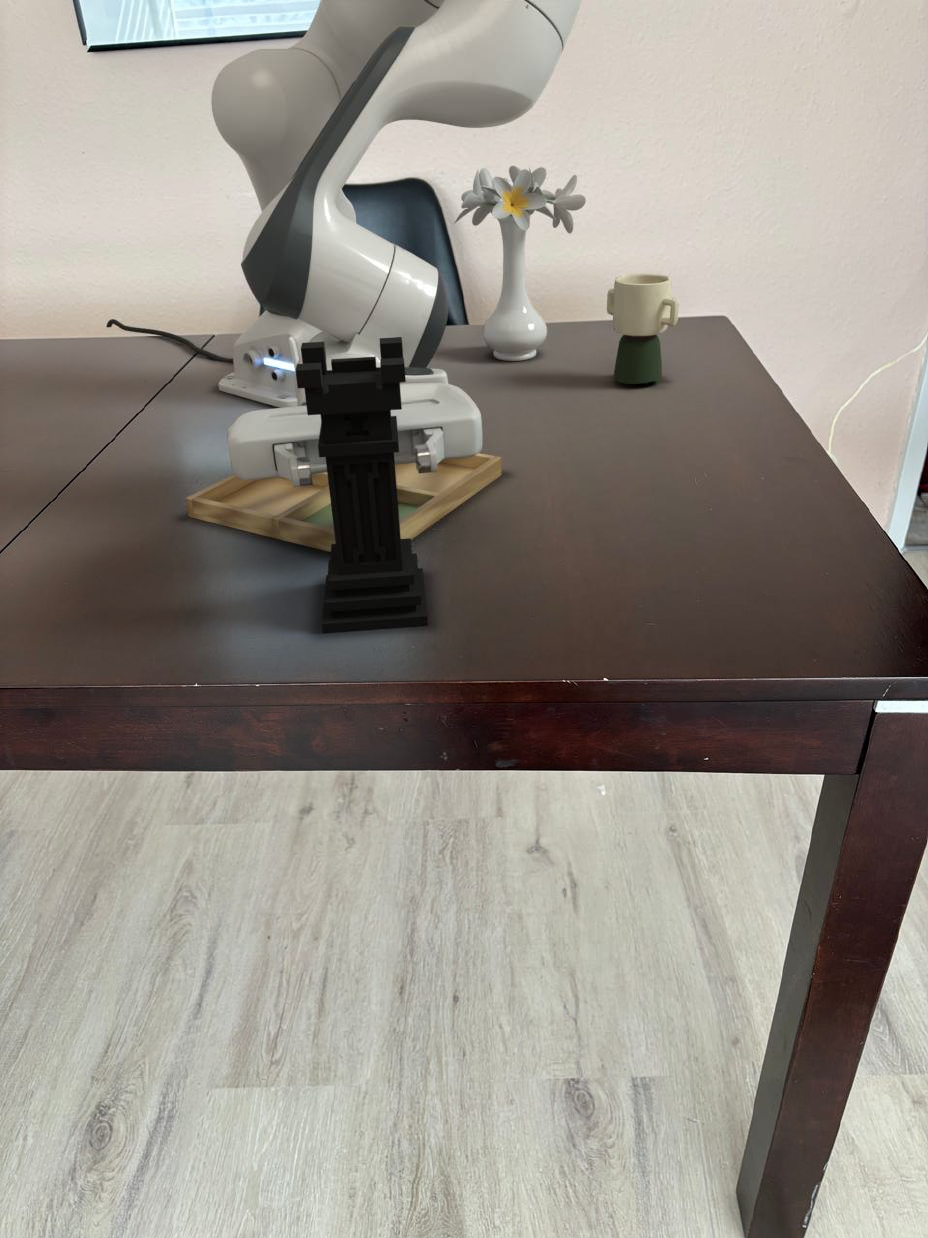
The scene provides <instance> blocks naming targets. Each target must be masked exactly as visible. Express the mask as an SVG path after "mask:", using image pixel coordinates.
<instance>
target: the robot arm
mask: <svg viewBox="0 0 928 1238" xmlns="http://www.w3.org/2000/svg"><path fill="white" fill-rule="evenodd" d="M582 1H583V0H319V4H318V7H317V9H316V12H315V14H314V16H313V19H312V21H311V22H310V25H309V27H308V28H307V31H306V33H305V34H304V35H303V36H302V38H301V39H300V40H299V41H298V42H296V43H295V44H294V45H292V46H290V47H288V48H259V49H254V50H251V51H249V52H247V53H245V54H243V55H241V56H239V57H237V58H235V59H234V60H232V61H230V62H228V63H227V64H226V65H224V67H223V68H221V70H220V71H219V72H218V74H217V76H216V78H215V80H214V83H213V86H212V90H211V99H210V100H211V104H210V105H211V112H212V117H213V121H214V123H215V127H216V128H217V130H218V133H219V135H220V136H221V137H222V139H223V140H224V141H225V143H226V144H227V145H228V146H229V147H230V148H231V149H232V150H233V151H234V152H235V153H236V155H237V156H238V157H239V159H240V160H241V162H242V164H243V166H244V168H245V171H246V173H247V175H248V177H249V180H250V182H251V185H252V187H253V190H254V193H255V195H256V198H257V201H258V204H259V207H260V208H259V209H260V210H261V213H260V214H259V215H258V217H257V219H256V220H255V222H254V223H253V225H252V227H251V228H250V230H249V232H248V233H247V237H246V239H245V243H244V246H243V251H242V259H241V263H240V267H241V270H242V273H243V276H244V278H245V280H246V283H247V285H248V287H249V289H250V291H251V293H252V295H253V296H254V298H255V300H256V301H257V303H258V304H259V306H261V307H263V308H264V309H265V311H264V312H263V313H261V314H260V316H259V317H258V318H257V319H256V320H255V321H254V322H253V323H252V324H251V325H250V326H248V328H247V329H246V330H244V332H243V333H242V334H241V335H240V336H239V337H237V339H236V340H235V343H234V346H233V351H232V358H226V357H223V356H219V355H217V354H215V353H212V352H210V351H207V350H205V349H202V348H200V347H198V346H196V345H195V344H194V343H193V342H191V341H190V340H188V339H186V338H184V337H182V336H180V335H177V334H174V333H171V332H167V331H163V330H158V329H153V328H145V327H144V328H143V327H135V326H129V325H126V324H123V323H121V322H120V321H119V320H117V319H115V318H111V319H109V320H108V321H107V323H106V328H112V326H113V325H115V326H116V327H117V328H119V329H121V330H123V331H126V332H131V333H137V334H146V335H154V336H160V337H164V338H168V339H171V340H174V341H177V342H179V343H181V344H183V345H185V346H187V347H188V348H190V349H191V350H192V351H193V352H195V353H196V354H198V355H201V356H203V357H206V358H208V359H211V360H213V361H217V362H222V363H228V364H233V372H231V373H229V374H226V376H223V377H222V378H221V379H220V380H219V382H218V391H220V392H224V393H227V394H230V395H234V396H237V397H241V398H244V399H248V400H251V401H255V402H258V403H262V404H265V405H268V406H272V407H275V408H265V409H258V410H252V411H248V412H245V413H243V414H240V415H239V416H238V417H237V418H236V419H235V421H234V422H233V424H232V425H230V426H228V428H227V429H228V430H227V446H228V453H229V460H230V465H231V469H232V472H233V473H232V474H234V476H235V477H237V478H239V479H242V480H246V481H251V480H260V479H269V478H278V477H283V478H285V479H288V480H291V481H293V487H301V486H309V485H313V482H312V474H315V473H325V472H327V466H326V457H319V451H318V443H319V435H320V428H321V415H308V414H307V406H306V398H305V390H304V388H299V389H298V387H297V379H296V372H295V370H296V366H297V364H303V362H302V354H301V346H302V343H308V342H324V343H325V352H326V364H327V370H332V366H331V359H344V358H360V357H376V367H380V359H381V353H380V338H393V337H402V347H403V358H404V364H405V378H406V382H400V392H401V406H402V409H401V410H391V416H397V429H398V443H399V452H395V453H394V459H395V465H399V464H409V463H416V469H417V470H418V474H420V473H431V472H437V470H438V468H437V464H438V463H439V462H440V461H441V460H446V459H455V458H466V457H473V456H475V455H477V454H478V453H481V452H482V450H483V422H482V414H481V411H480V409H479V407H478V406H477V404H476V403H475V402H474V401H473V399H472V398H471V396H470V395H468V394H467V392H465V390H463V389H462V388H460V387H459V386H457V385H455V384H451V383H449V378H448V374H447V372H446V371H445V370H443V369H441V368H429V367H428V366H429V364H430V362H431V361H432V360H433V358H434V356H435V353H436V352H437V350H438V349H439V346H440V343H441V341H442V339H443V336H444V333H445V331H446V327H447V322H448V319H449V318H448V317H449V304H448V296H447V290H446V284H445V281H444V278H443V275H442V273H441V271H440V270H439V268H438V267H435V266H434V265H433V264H430V263H429V262H427V261H426V260H424V259H422V258H420V257H419V256H417V255H415V254H414V253H412V252H411V251H408V250H407V249H405V248H403V247H401V246H400V245H397V244H395V243H393V242H390V241H388V240H387V239H385V238H383V237H381V236H380V235H377V234H376V233H375V232H373V231H371V230H369V229H367V228H365V227H363V226H361V225H360V224H358V223H357V217H356V215H357V214H356V211H355V208H354V205H353V204H352V202H351V201H350V200H349V199H348V198H347V197H346V195H345V193H344V191H343V188H344V186H345V185H346V183H347V181H348V180H349V179H350V177H351V175H352V173H353V172H354V171H355V169H356V167H357V166H358V165H359V163H360V161H361V160H362V158H363V157H364V155H365V154H366V152H367V150H368V149H369V148H370V146H371V144H372V143H373V141H374V140H375V138H376V137H377V135H378V134H379V133H380V131H381V130H382V129H383V128H384V127H386V126H387V125H388V124H391V123H394V122H399V121H423V122H431V123H437V124H442V125H448V126H454V127H458V128H459V127H460V128H467V129H484V128H494V127H498V126H499V127H500V126H502V125H506V124H509V123H511V122H514V121H517V120H518V119H519V118H522V117H523V116H524V115H525V114H527V113H528V112H529V111H530V110H531V109H533V107H534V106H535V105H536V103H537V102H538V100H539V99H540V97H541V96H542V94H543V92H544V91H545V89H546V87H547V85H548V83H549V82H550V79H551V78H552V75H553V74H554V73H555V72H554V71H555V70H556V67H557V65H558V63H559V61H560V57H561V56H562V54H563V51H564V49H565V46H566V45H567V42H568V39H569V38H570V34H571V32H572V29H573V27H574V24H575V22H576V18H577V16H578V13H579V10H580V7H581V4H582Z"/></svg>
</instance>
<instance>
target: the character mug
mask: <svg viewBox="0 0 928 1238" xmlns="http://www.w3.org/2000/svg"><path fill="white" fill-rule="evenodd" d="M613 283H614V284H613V288H609V289H608V291H607V295H606V313H607V314H608V315H611V316H612V329H613V331H614V332H615V333H617V334H619V335H620V334H621V335H622V336H621V337H620V339H619V342H618V347H617V353H616V359H615V364H614V372H613V379H614V380H615V381H617V382H618V383H621V384H626V385H639V384H644V385H645V386H646V385H649V383H652V382H655V381H661V380H663V370H662V369H663V368H662V367H663V366H662V365H663V364H662V363H663V361H662V350H661V349H662V348H661V340H660V338H659V336H658V335H659V334H660V335H661V334H662V333H664V332H666V330H668V327H675V326H676V325H677V323H678V319H679V308H680V307H679V306H680V303H679V300H678V299H677V298H674V297H672V288H673V279H672V277H670V276H669V275H665V274H664V275H663V274H661V273H660V274H659V273H632V274H623V275H619V276H617V277H615V279H614V282H613Z"/></svg>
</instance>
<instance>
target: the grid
mask: <svg viewBox="0 0 928 1238" xmlns="http://www.w3.org/2000/svg"><path fill="white" fill-rule="evenodd" d="M437 468H438V470H437V472H431V473H420V474H418V470H417V469H416V463H409V464H399V465H395V472H396V485H397V497H398V510H399V523H400V535H401V539H408V538H411V541H412V540H413V539H415V538H416V537H417V536H419V535H420V534H421V533H423V532H424V531H426V530H427V529H428V528H431V526H433V525H434V524H436V523H437V522H438V521H440V520H441V519H442V518H444V517H445V516H447V515H449V514H450V512H452V511H454V510H455V509H456V508H458V507H459V506H460V505H462V504H463V503H465V502H466V501H467V500H469V499H470V498H472V497H473V496H474V495H476V494H477V493H478V492H480V491H481V490H483V489H484V488H486V487H487V486H488V485H490V484H491V483H493V482H494V481H495V480H497V479H498V478H500V477H501V476H502V457H501V456H496V455H493V454H492V455H491V454H486V453H481V452H479V453H478V454H477V455H475V456H473V457H466V458H455V459H446V460H441V461H440V462H439V463H438V464H437ZM312 482H313V485H309V486H301V487H293V481H291V480H288V479H285V478H283V477H278V478H269V479H260V480H251V481H246V480H242V479H239V478H237V477H235V476H234V474H233V473H232V474H229V476H227V477H225V478H222V479H221V480H219V481H216V482H215V483H213V484H211V485H208V486H206V487H204V488H202V489H200V490H198V491H197V492H194V493H193V494H190V495H188V496H186V497H185V498H184V500H185V501H184V502H185V507H186V511H187V517H188V518H192V519H194V520H200V521H203V522H206V523H207V522H208V523H211V524H214V525H215V524H216V525H219V526H224V527H228V528H232V529H236V530H239V531H244V532H248V533H252V534H256V535H260V536H265V537H268V538H272V539H277V540H280V541H285V542H289V543H292V544H296V545H300V546H305V547H309V548H312V549H316V550H321V551H324V552H329V553H331V544H336V542H335V534H334V525H333V517H332V508H331V500H330V491H329V483H328V474H327V472H325V473H315V474H312Z"/></svg>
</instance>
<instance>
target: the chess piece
mask: <svg viewBox="0 0 928 1238" xmlns="http://www.w3.org/2000/svg"><path fill="white" fill-rule="evenodd" d="M380 353H381V359H380V367H376V357H360V358H344V359H331V366H332V370H327V364H326V352H325V343H324V342H308V343H302V346H301V354H302V362H303V364H297V366H296V370H295V372H296V379H297V387H298V389H299V388H304V390H305V398H306V406H307V414H308V415H321V428H320V435H319V443H318V451H319V457H326V466H327V474H328V483H329V491H330V500H331V508H332V517H333V525H334V534H335V542H336V544H331V552H330V558H329V559H328V563H327V564H328V565H327V574H326V576H325V583H324V584H325V586H324V597H323V606H322V608H323V609H322V618H321V619H322V620H321V627H322V633H323V634H329V633H342V632H357V631H369V630H370V631H371V630H381V629H396V628H397V629H398V628H409V627H423V626H428V625H429V620H428V609H427V600H426V590H425V579H424V570H423V567H419V562H418V554H417V553H416V552H415V553H413V548H412V540H411V538H408V539H401V535H400V523H399V510H398V497H397V485H396V472H395V459H394V453H395V452H399V443H398V429H397V416H391V410H401V409H402V406H401V392H400V382H406V378H405V364H404V358H403V347H402V337H393V338H380Z"/></svg>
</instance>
